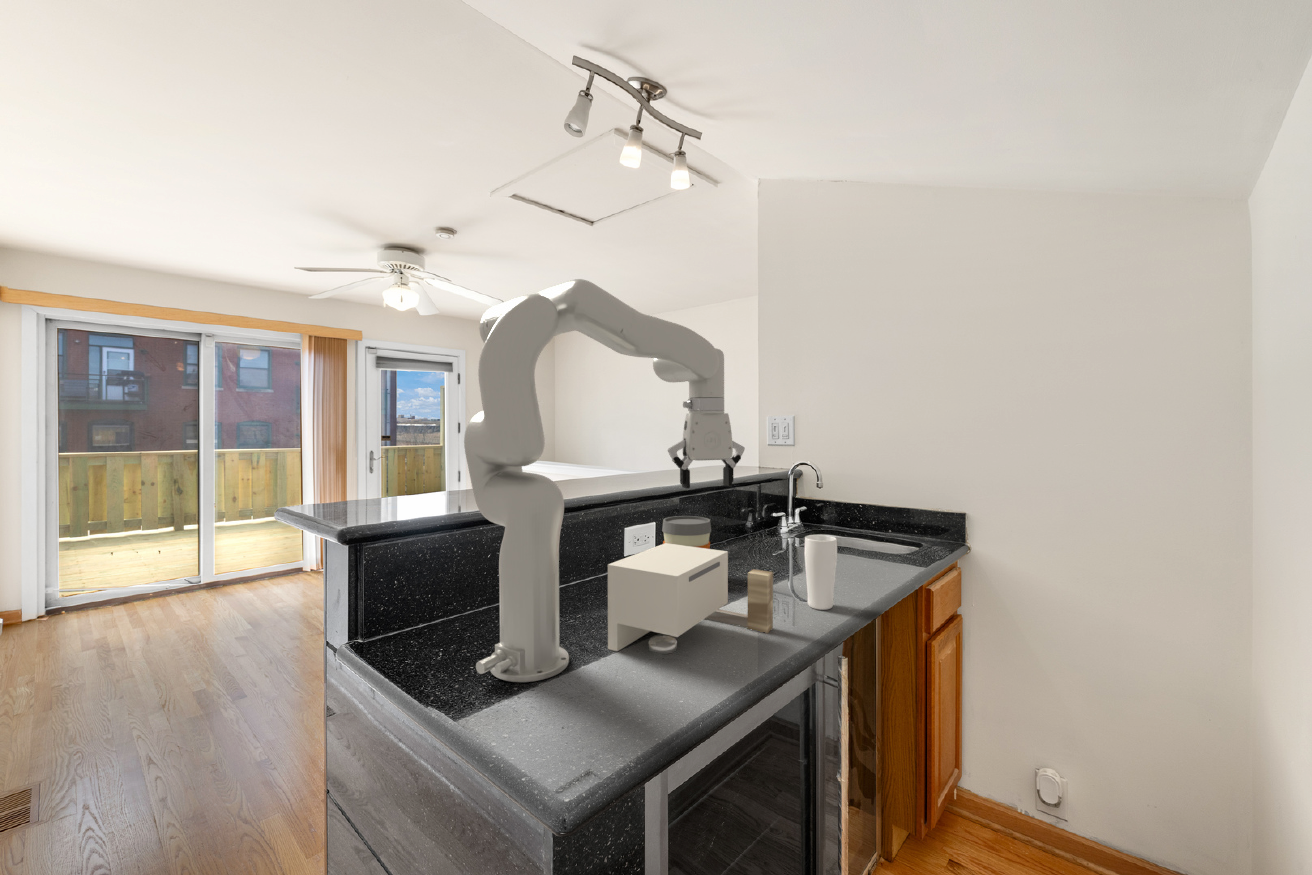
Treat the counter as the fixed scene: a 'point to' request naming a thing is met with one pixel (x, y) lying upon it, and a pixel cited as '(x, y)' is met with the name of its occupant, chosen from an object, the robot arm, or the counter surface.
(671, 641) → the ball
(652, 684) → the counter surface
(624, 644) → the cabinet
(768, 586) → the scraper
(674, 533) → the reusable coffee cup
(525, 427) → the robot arm
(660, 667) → the counter surface
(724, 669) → the counter surface
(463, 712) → the counter surface
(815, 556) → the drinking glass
